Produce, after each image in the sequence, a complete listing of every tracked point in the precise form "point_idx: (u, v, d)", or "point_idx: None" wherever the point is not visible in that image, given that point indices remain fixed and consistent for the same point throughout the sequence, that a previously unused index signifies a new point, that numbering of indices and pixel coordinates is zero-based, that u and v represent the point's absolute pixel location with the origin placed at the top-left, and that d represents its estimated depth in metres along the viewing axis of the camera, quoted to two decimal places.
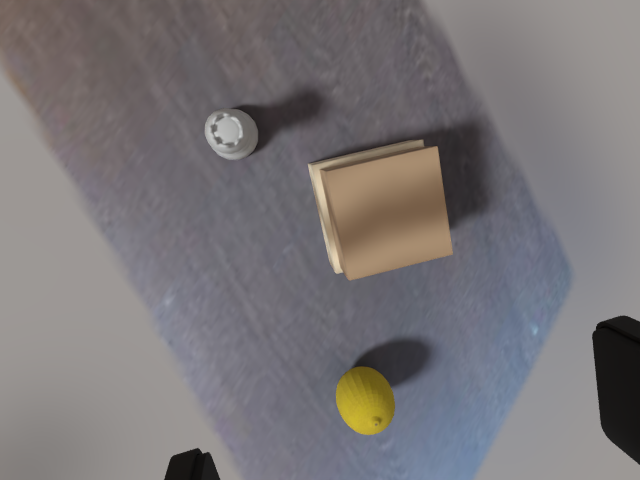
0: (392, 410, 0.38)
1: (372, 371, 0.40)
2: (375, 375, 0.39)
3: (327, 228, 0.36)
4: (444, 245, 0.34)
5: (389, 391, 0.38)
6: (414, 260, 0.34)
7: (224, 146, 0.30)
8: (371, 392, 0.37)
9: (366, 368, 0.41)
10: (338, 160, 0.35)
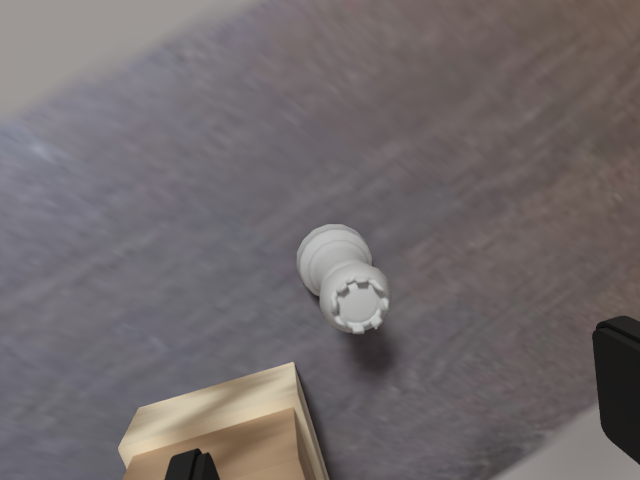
0: None
1: None
2: None
3: (197, 426, 0.22)
4: None
5: None
6: None
7: (334, 304, 0.17)
8: None
9: None
10: (306, 429, 0.23)
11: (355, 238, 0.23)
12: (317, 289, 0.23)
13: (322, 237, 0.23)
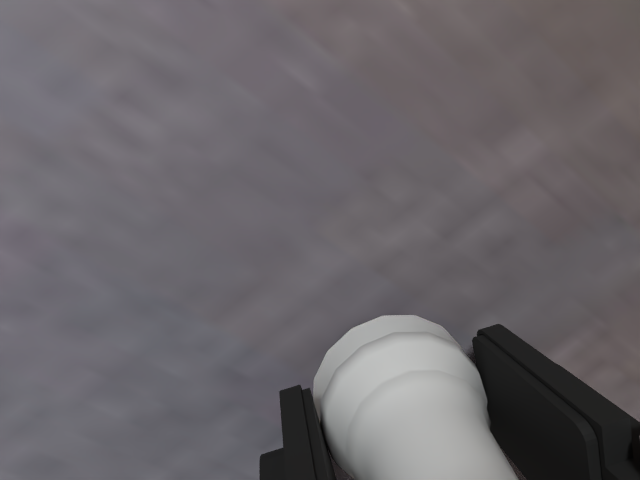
0: None
1: None
2: None
3: None
4: None
5: None
6: None
7: None
8: None
9: None
10: None
11: (455, 359, 0.10)
12: None
13: (378, 359, 0.09)
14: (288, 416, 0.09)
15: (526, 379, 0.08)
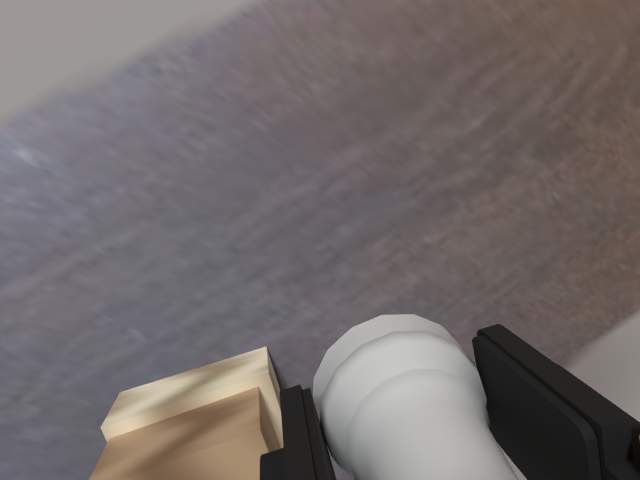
0: None
1: None
2: None
3: (175, 405, 0.24)
4: None
5: None
6: None
7: None
8: None
9: None
10: (277, 406, 0.25)
11: (454, 358, 0.10)
12: None
13: (378, 358, 0.09)
14: (288, 416, 0.09)
15: (526, 379, 0.08)
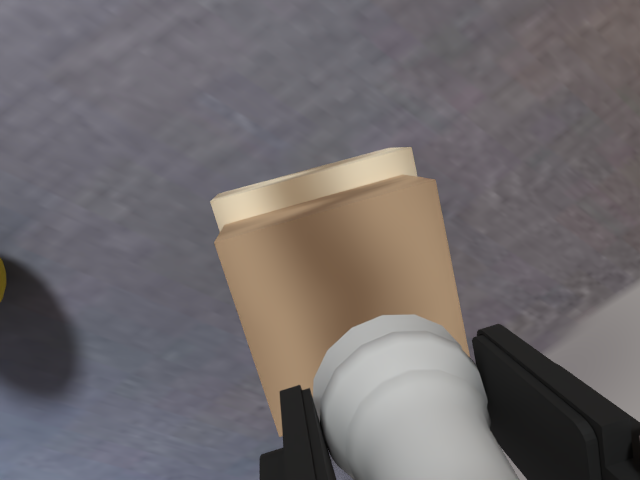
0: None
1: None
2: None
3: (299, 179, 0.20)
4: None
5: None
6: (264, 368, 0.17)
7: None
8: None
9: (1, 284, 0.19)
10: None
11: (455, 358, 0.10)
12: None
13: (378, 359, 0.09)
14: (288, 416, 0.09)
15: (526, 379, 0.08)
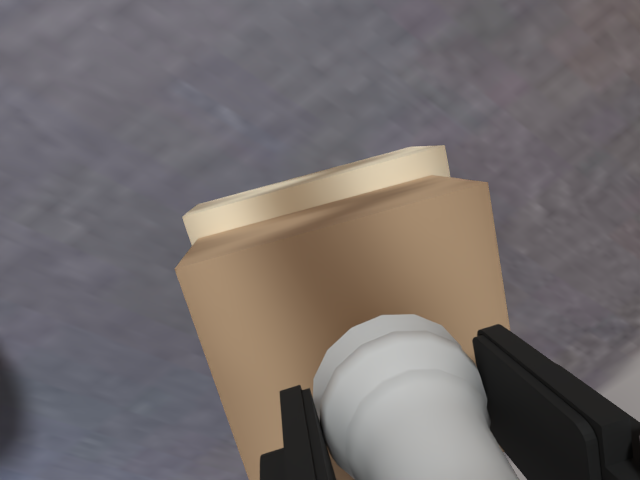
0: None
1: None
2: None
3: (299, 187, 0.15)
4: None
5: None
6: (246, 440, 0.12)
7: None
8: None
9: None
10: None
11: (455, 358, 0.10)
12: None
13: (377, 358, 0.09)
14: (288, 416, 0.09)
15: (526, 379, 0.08)
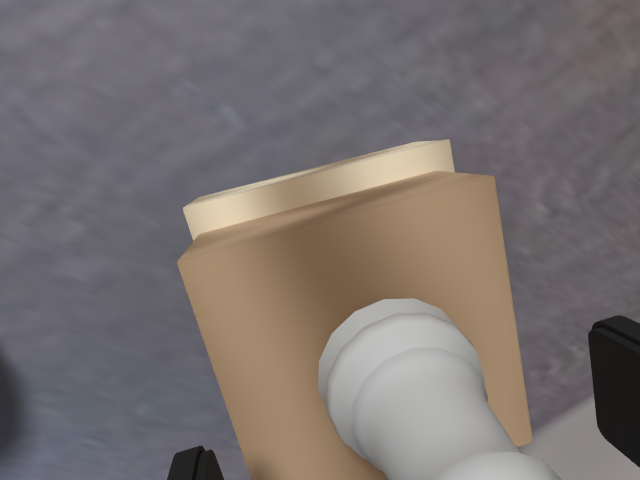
0: None
1: None
2: None
3: (301, 180, 0.15)
4: None
5: None
6: (248, 438, 0.12)
7: None
8: None
9: None
10: None
11: (453, 338, 0.10)
12: (372, 461, 0.10)
13: (380, 338, 0.10)
14: None
15: None
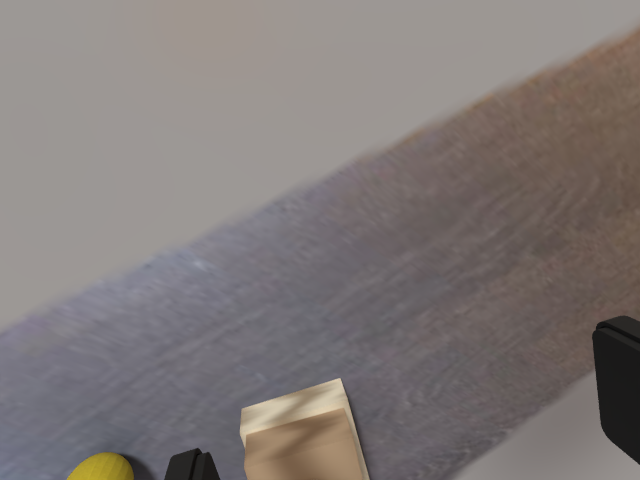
0: None
1: None
2: None
3: (287, 419, 0.37)
4: None
5: None
6: None
7: None
8: None
9: None
10: (352, 420, 0.38)
11: None
12: None
13: None
14: None
15: None
